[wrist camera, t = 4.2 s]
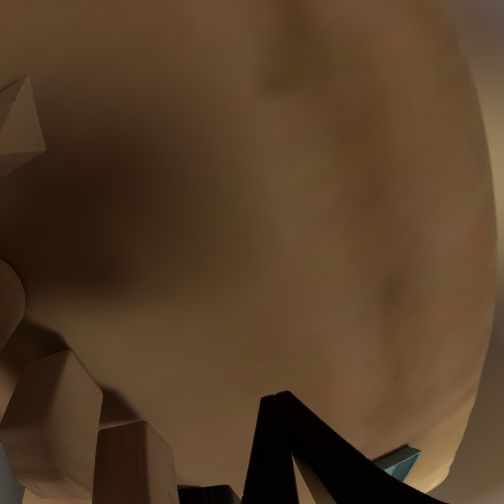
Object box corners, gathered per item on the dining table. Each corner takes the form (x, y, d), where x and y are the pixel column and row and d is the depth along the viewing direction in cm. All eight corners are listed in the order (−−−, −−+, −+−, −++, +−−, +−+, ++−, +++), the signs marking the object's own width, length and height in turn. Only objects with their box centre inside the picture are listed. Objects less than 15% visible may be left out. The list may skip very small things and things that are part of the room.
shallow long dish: (334, 471, 22) (343, 491, 20) (414, 436, 23) (425, 452, 21) (325, 523, 32) (330, 534, 30) (376, 503, 33) (381, 513, 31)
